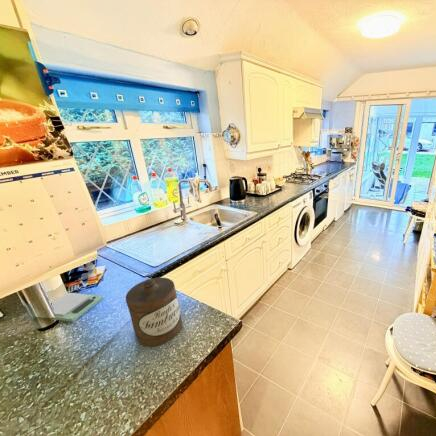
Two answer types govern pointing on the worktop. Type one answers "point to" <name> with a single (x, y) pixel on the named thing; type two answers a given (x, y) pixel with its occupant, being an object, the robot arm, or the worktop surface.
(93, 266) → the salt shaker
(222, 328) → the worktop surface
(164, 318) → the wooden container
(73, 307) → the kitchen scale
